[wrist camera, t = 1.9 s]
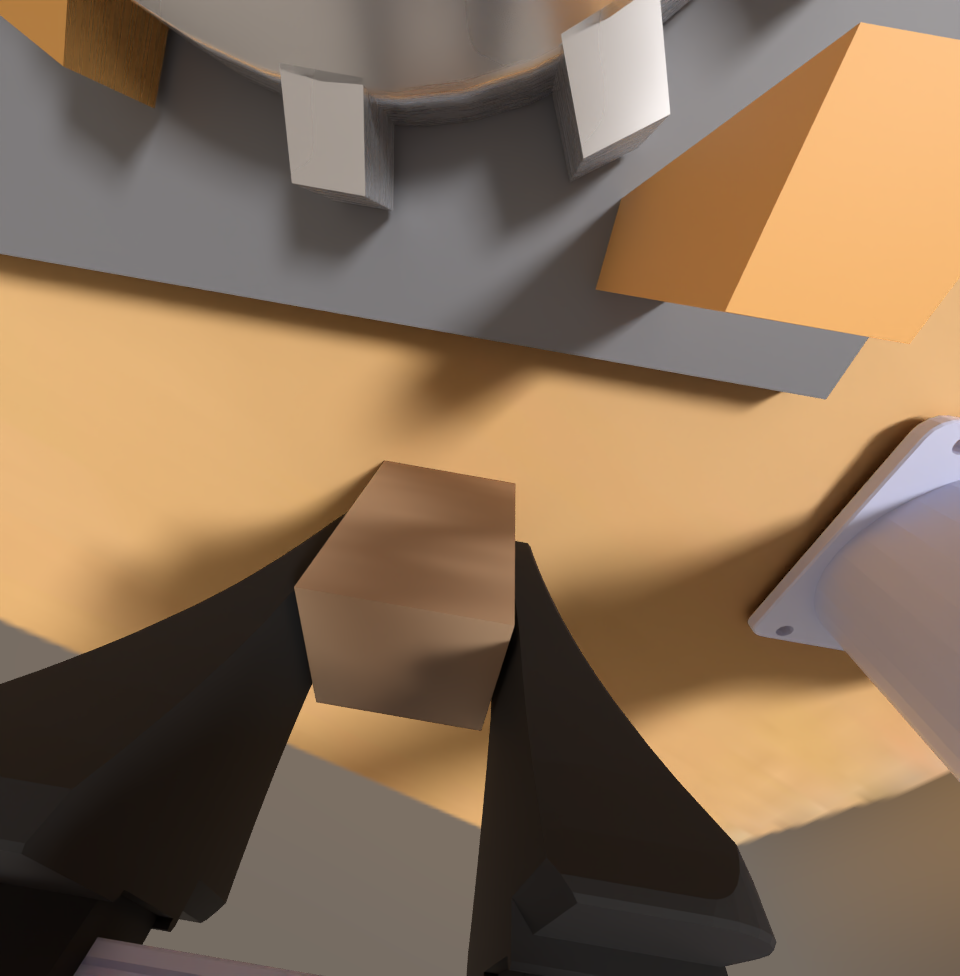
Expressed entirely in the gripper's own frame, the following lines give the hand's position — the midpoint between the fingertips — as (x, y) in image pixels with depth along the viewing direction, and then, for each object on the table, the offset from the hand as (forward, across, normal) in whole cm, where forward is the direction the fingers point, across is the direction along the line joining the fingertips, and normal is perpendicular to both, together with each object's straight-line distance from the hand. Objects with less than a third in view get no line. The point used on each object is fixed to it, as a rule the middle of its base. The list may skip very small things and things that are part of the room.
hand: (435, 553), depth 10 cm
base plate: (+1, +2, -16) cm, 16 cm away
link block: (+1, 0, 0) cm, 1 cm away
